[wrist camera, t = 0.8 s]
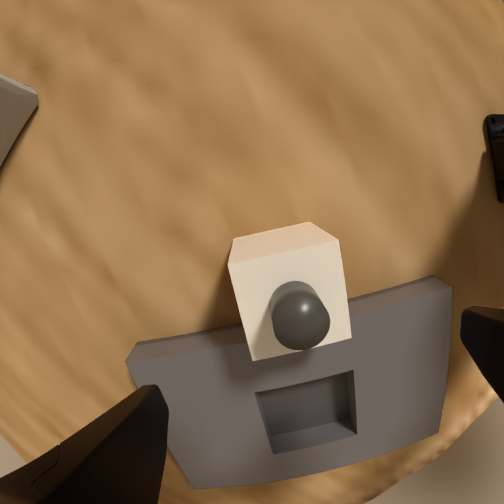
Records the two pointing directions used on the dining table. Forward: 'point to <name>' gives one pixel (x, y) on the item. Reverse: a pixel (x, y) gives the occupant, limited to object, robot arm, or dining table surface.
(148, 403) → the robot arm
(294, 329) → the plug
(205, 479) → the socket plate
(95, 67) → the dining table surface
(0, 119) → the electrical switch
